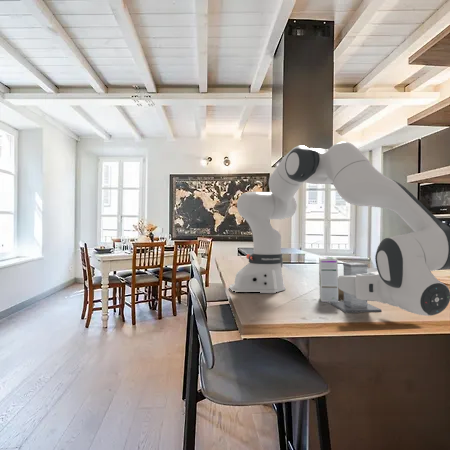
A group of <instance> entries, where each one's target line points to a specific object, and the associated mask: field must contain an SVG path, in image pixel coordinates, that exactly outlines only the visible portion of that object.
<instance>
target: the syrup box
mask: <svg viewBox="0 0 450 450" xmlns="http://www.w3.org/2000/svg"><path fill="white" fill-rule="evenodd" d="M318 273H319V274H318V275H319V276H318V277H319V280H318V282H319V283H318V284H319V300H320V302H321V303H322V302H323V303H330V302H339V299H338V277H339V270H338V258H337V257H332V256H331V257H330V256H325V257H324V256H323V257H318Z"/></svg>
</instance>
